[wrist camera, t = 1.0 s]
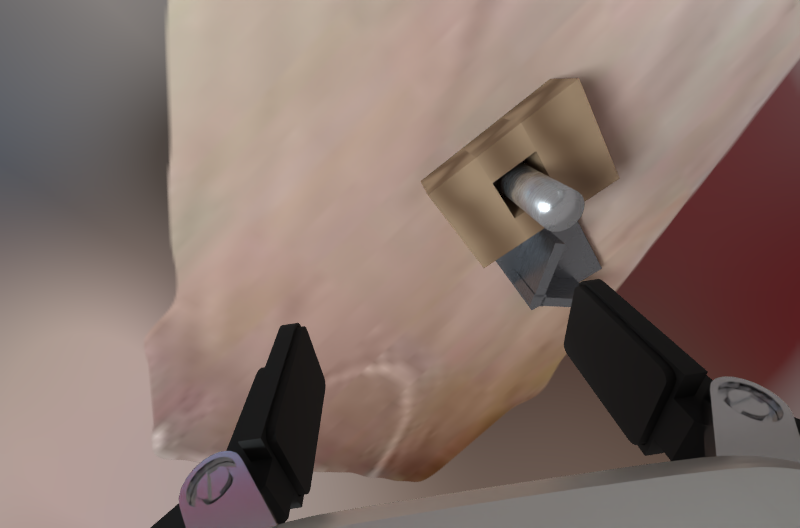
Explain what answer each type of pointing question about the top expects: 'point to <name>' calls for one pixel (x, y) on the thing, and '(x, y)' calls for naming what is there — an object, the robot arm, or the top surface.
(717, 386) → the robot arm
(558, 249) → the v block
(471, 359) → the top surface
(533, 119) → the wooden block with hole
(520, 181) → the axle
